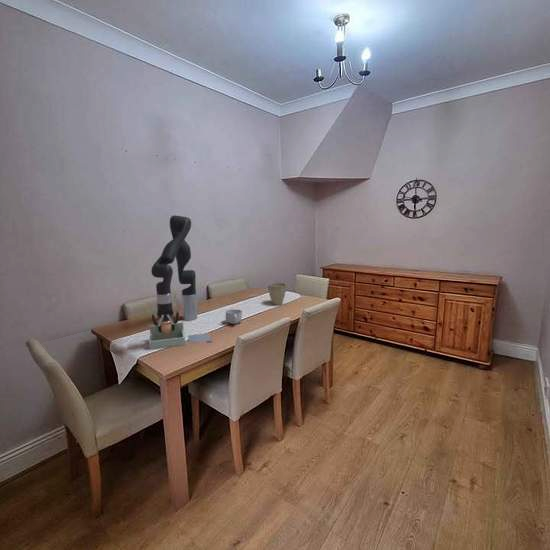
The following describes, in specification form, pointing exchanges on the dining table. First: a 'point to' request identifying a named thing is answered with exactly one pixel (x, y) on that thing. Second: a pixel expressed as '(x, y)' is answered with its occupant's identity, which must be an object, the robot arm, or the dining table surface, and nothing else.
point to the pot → (166, 327)
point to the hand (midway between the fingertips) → (166, 331)
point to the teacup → (233, 316)
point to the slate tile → (199, 338)
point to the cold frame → (166, 337)
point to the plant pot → (277, 292)
